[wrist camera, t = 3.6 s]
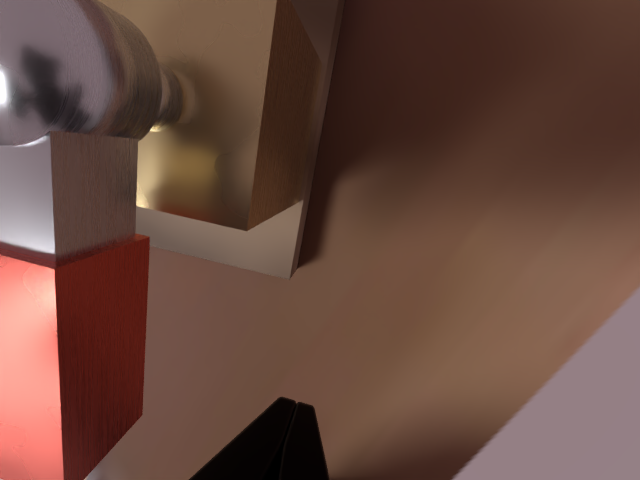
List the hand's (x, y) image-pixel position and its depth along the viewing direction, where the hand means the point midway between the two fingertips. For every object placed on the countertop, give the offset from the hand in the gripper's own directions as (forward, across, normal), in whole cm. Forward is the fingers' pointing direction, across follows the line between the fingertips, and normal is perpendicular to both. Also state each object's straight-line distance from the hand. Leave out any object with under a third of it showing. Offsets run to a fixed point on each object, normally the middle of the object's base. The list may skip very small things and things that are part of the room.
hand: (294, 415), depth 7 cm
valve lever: (0, +5, -3) cm, 6 cm away
